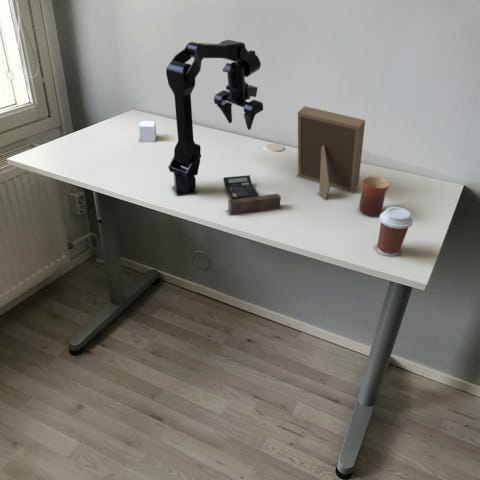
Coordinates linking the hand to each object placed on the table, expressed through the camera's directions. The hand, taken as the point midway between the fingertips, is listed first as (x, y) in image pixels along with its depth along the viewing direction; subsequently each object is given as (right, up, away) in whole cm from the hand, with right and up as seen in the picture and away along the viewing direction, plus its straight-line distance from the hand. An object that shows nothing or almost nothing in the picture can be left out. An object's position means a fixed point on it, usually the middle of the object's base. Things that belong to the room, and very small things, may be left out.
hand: (239, 126), depth 177 cm
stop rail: (+5, -34, -18) cm, 39 cm away
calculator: (0, -26, -8) cm, 27 cm away
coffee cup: (+43, -50, -35) cm, 75 cm away
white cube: (-38, +5, +27) cm, 47 cm away
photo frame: (+29, -23, -4) cm, 37 cm away
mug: (+44, -34, -16) cm, 58 cm away
